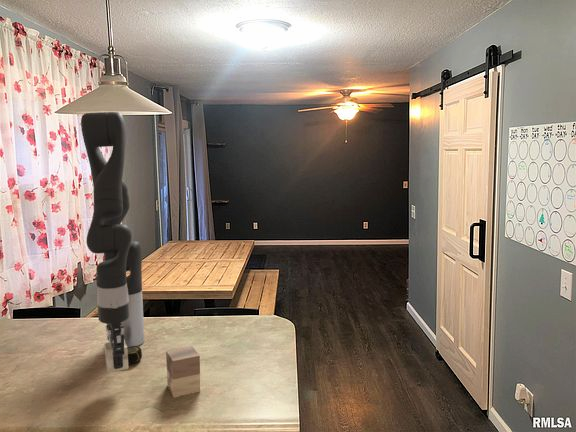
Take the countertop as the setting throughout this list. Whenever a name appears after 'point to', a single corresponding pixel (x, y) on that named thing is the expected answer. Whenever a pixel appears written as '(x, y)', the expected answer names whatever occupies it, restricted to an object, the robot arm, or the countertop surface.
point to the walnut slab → (183, 362)
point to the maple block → (110, 358)
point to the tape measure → (134, 354)
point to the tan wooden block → (183, 384)
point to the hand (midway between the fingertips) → (116, 363)
